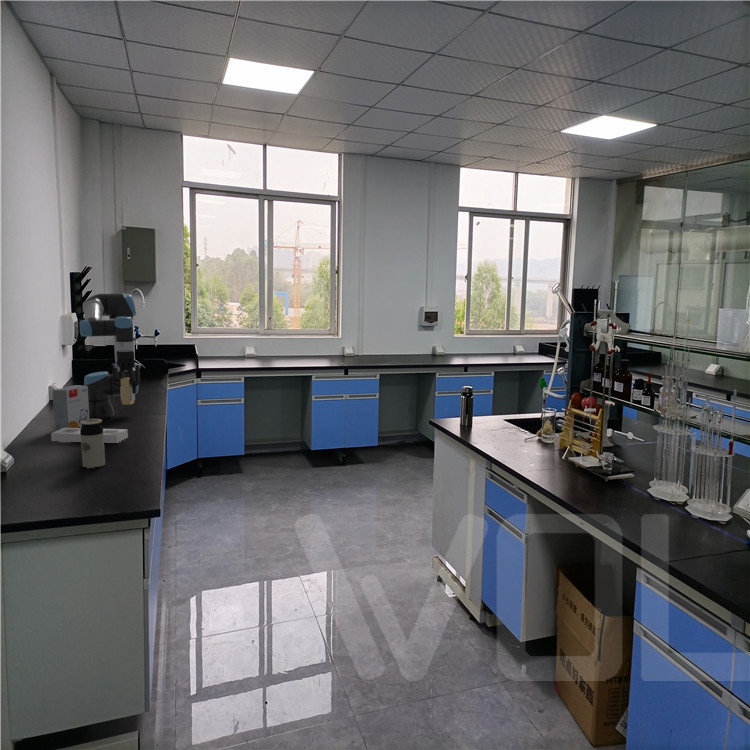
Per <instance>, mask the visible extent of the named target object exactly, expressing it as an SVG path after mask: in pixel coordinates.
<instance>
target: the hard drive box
mask: <svg viewBox="0 0 750 750" xmlns="http://www.w3.org/2000/svg"><path fill="white" fill-rule="evenodd" d="M52 402H53V403H52V404H53V420H54V421H53V422H54V432H55V431H57V430H60V429H62V428H79V427H80V428H82V425H81V423H80V422H81V421H83V420H87V419H89V402H88V386H85V385H80V384H79V385H77V384H75V385H71V386H70V385H69V386H66V387H62V388H61V387H60V388H57V389H53V390H52Z"/></svg>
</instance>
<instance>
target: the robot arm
mask: <svg viewBox="0 0 750 750" xmlns="http://www.w3.org/2000/svg"><path fill="white" fill-rule="evenodd" d="M82 313H84V319H82V320H80V321H79V333H80V334H79V335H80V336H81V337H89V338H91V337H93V338H94V337H113V347H114V360H115V361H114V362H115V363H111V364H110V367H111V369H112V374H110V373H109V372H108V371H97V372H92V373H89V374H87V375H85V376H84V378H83V379H84V380H83V381H84V383H83V386H88V402H89V419H100V418H104V419H108V417H109V418H112V417H115V410H114V408H113V407H114V406H113V405H112V403H111V398H110V397H117V396H118V397H119V396H120V401H121V402H122V396H121V379H122V378H130V381H131V385H132V386H131V387H130V394H131V401H133V400H134V401H135V400H136V394H137V393H138V392H139V388H140V387H139V386H140V385H141V367H142V364H140V363H139V364H138V363H136V361H135V351H134V350H135V343H134V341H135V340H134V323H133V322H134V321H133V320H134V317H135V316H137V312H136V306H135V301H134V297H133V296H132V294H130V293H123V292H122V293H97V294H95V295H91V296H90V297H88V298H87V299H86V300H85V301H83V305H82ZM104 316H105V317H109V319H103V317H104Z"/></svg>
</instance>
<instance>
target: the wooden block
mask: <svg viewBox="0 0 750 750" xmlns="http://www.w3.org/2000/svg"><path fill="white" fill-rule="evenodd" d="M131 386H132V385H131V381H130V378H122V379H121V395H120V397H121V396H122V401H121V404H122V405H133V404H135V400H133V401H131V394H130V387H131Z"/></svg>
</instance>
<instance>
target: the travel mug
mask: <svg viewBox="0 0 750 750" xmlns="http://www.w3.org/2000/svg"><path fill="white" fill-rule="evenodd" d="M102 422H103V420H102V419H87V420H83V421H81V422H80V423H81V425H82V427H80V428H81V430H80V435H81V443H80V444H81V445H80V446H81V447H80V449H81V460H82V461H81V462H82V464H81V465H82V467H83V468H84V467H86V469H90V468H92V469H95V468H94V467H99V468H101V467H103V466H105V465H106V457H105V456H106V454H105V453H106V452H105V444H104V435H103V429H104V428H103V426H102ZM100 466H101V467H100Z"/></svg>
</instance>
